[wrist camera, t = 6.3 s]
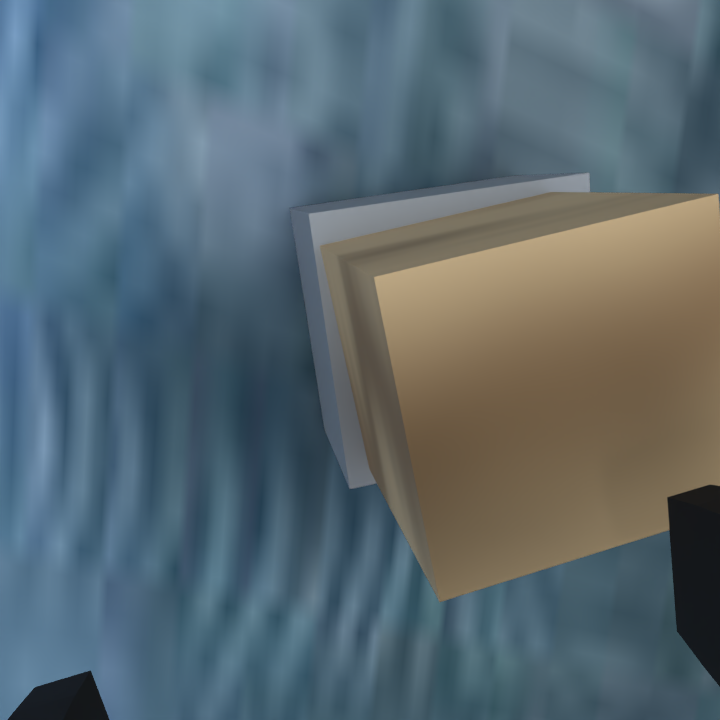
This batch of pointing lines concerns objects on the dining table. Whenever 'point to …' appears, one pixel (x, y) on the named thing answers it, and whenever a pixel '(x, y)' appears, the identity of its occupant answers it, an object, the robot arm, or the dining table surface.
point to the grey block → (363, 219)
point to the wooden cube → (534, 374)
